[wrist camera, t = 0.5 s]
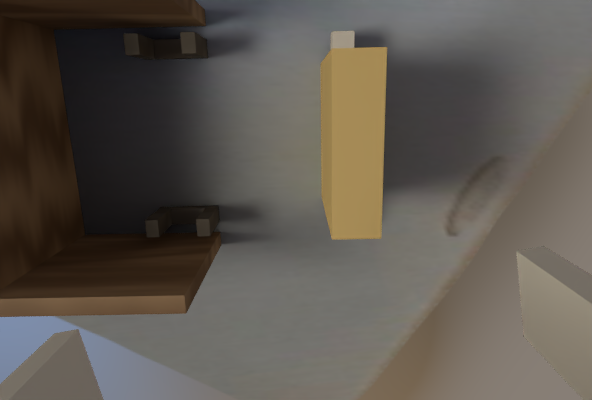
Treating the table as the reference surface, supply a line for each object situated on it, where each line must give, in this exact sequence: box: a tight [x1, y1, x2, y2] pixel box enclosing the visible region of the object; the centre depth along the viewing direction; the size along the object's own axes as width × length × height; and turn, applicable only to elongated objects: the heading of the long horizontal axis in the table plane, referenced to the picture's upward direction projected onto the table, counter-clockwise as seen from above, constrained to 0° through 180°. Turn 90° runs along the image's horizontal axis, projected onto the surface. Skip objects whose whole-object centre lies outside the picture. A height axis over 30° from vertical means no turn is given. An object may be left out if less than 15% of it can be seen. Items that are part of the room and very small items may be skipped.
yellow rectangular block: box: [321, 31, 387, 240], centre depth 29 cm, size 15×3×11 cm, turn 1°
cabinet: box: [0, 0, 221, 317], centre depth 29 cm, size 19×13×12 cm
